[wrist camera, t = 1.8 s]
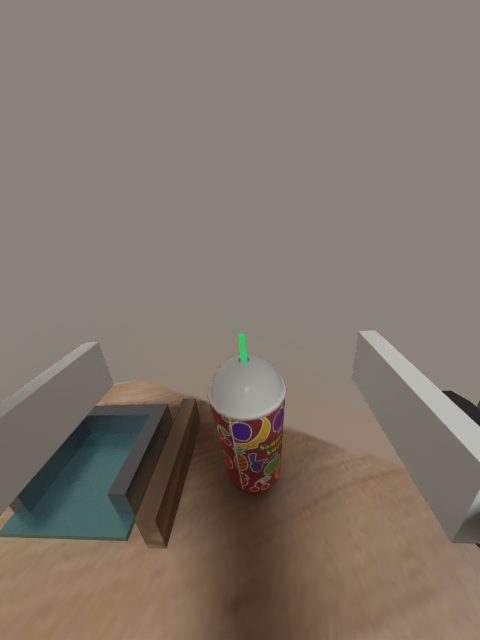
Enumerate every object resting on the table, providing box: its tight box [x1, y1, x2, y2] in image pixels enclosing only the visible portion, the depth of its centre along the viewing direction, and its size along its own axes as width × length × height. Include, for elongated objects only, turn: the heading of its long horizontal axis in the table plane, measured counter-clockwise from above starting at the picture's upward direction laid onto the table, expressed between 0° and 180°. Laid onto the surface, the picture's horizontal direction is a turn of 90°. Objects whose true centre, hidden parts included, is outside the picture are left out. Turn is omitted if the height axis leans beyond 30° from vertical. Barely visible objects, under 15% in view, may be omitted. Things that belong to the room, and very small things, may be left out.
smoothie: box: [207, 334, 286, 494], centre depth 26 cm, size 8×8×20 cm
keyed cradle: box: [0, 404, 173, 541], centre depth 31 cm, size 15×15×4 cm
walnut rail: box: [135, 399, 200, 548], centre depth 30 cm, size 2×16×5 cm, turn 176°
